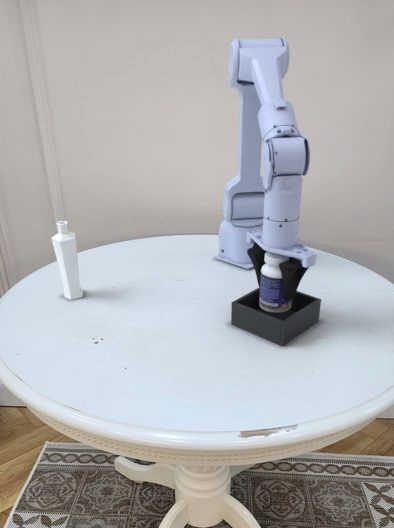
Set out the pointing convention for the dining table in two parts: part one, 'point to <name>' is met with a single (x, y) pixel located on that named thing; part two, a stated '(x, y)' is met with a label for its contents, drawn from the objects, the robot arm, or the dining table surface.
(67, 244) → the perfume bottle
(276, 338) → the basket
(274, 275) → the pill bottle
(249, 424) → the dining table surface
